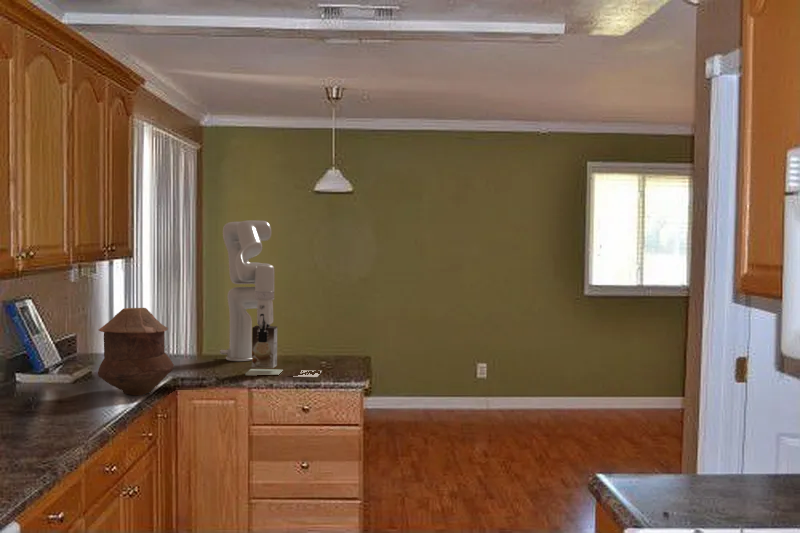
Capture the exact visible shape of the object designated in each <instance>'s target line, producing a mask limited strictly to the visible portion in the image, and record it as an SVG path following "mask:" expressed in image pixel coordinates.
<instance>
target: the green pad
mask: <svg viewBox="0 0 800 533" xmlns="http://www.w3.org/2000/svg"><path fill="white" fill-rule="evenodd" d="M282 371H284V369H280V368H279V369H277V368H276V369H274V368H250V369H249V370H247V371H246V372H245V376H257V375H279V374H280V373H281V372H282ZM282 373H283V372H282ZM282 373H281V374H282ZM281 374H280V375H281ZM280 375H279V376H280Z"/></svg>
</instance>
